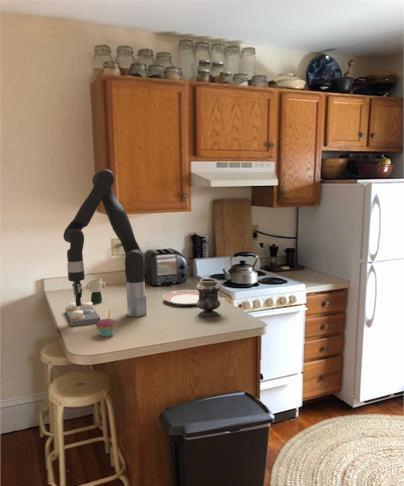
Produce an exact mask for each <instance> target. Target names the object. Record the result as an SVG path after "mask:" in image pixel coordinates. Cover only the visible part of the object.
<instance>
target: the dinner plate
mask: <svg viewBox="0 0 404 486" xmlns="http://www.w3.org/2000/svg"><path fill="white" fill-rule="evenodd" d="M162 298H163V300H164V301H166V302H168V303H171V304H174V305H177V306H197V305H196V303H197V301H198V300H199V291H198V290H197V289H181V290H174V291H170V292H166V293H165V294H164V295H163V297H162Z"/></svg>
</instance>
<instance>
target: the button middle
mask: <svg viewBox="0 0 404 486" xmlns="http://www.w3.org/2000/svg"><path fill="white" fill-rule="evenodd" d="M82 305H83V309H91V308H93V309H94V307H93V302H91V301H85V302H82Z"/></svg>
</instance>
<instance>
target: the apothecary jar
mask: <svg viewBox="0 0 404 486" xmlns="http://www.w3.org/2000/svg"><path fill="white" fill-rule="evenodd" d="M220 289H221V286H220V284H218V282H217V279H215V278H207V277H205V278H201V279H200V280H199V283H198V284H197V285H196V290H198V291H199V300H198V301H197V303H196V305H195V306H197V308H199V309H200V310H202V311H200V312H199V313H198V316H200V317H201V318H215V317H216V316H218V315H219V312H218V311H215V310H217V309H218V308H219V307H220V306H221V301H220V300H219V297H218V296H219V295H218V292H219V290H220Z"/></svg>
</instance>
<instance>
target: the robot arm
mask: <svg viewBox="0 0 404 486" xmlns="http://www.w3.org/2000/svg"><path fill="white" fill-rule="evenodd" d="M115 180H116V179H115V175H114V173H113V171H111V170H110V169H102V170H101V169H100V170H99V171H97V172H96V173H95V174H94V175H93V177H92V180H91V181H92V189H91V191H90V192H89V194H88V196H87V197H86V199H85V200H84V201H83V202H82V204H81V206H80V207H79V209H78V211H77V213H76V215H74V216H75V217H74V218H73V219H72V221H70V223H69V224H68V225H67V227H66V228H65V230H64V232H63V234H62V235H63V236H62V237H63V240H64V241H65V242H67V243H68V244H70V245H69V249H68V250H67V251H66V259H67V264H66V265H67V268H66V269H67V278H68V279H67V280H68V281H69V282H72V283H71V285H72V292H73V297H74V299H75V301H74V302H76V306H82V300H81V298H83V295H82V294H83V289H82V287H83V284H82V283H81V281H84V280H85V277H86V275H85V266H84V265H85V264H84V258H83V257H84V256H83V249H84V244H85V235H84V233H83V231H82V230H83V229H84V228H86V227H87V226H89V224H90V222H91V220H92V218H93V216H94V215H95V212H96V211H97V209H98V208H99V205H100V203H102V204H103V205H102V206H103V207H104V210H105V214H106V216H107V218H108V220H109V224H110V226H111V228H112V231H113V232H114V234H115V235H116V236H117V239H118V240H119V241H120V243H121V245H122V247H123V251H124V254H125V258H124V272H125V281H126V282H125V285H126V287H125V288H126V312H127V316H128V317H137V318H138V317H141V316H145V315H147V312H148V311H147V309H148V308H147V307H148V306H147V296H146V291H145V281H146V280H145V269H144V268H145V263H144V262H145V255H144V253H143V251H142V249H141V248H140V246H139V243H138V241H137V240H136V237H135V234H134V230H133V227H132V224H131V222H130V219H129V216H128V214H127V211H126V210H125V208H124V206H123V205H122V204H121V203H120V201H119V200H118V199H117V197H116V195H115V193H114V190H113V188H112V186H113V185H114V184H115Z"/></svg>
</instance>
